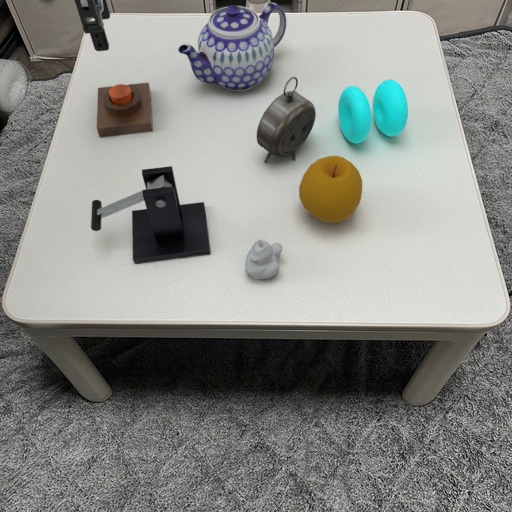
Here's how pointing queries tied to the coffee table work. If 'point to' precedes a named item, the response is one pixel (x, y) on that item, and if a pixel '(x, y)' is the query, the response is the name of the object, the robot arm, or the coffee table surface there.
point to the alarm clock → (286, 124)
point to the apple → (331, 189)
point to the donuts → (384, 110)
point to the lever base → (167, 223)
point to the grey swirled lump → (263, 259)
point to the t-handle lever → (122, 202)
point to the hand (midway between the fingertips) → (103, 33)
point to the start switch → (124, 112)
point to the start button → (120, 94)
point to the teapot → (235, 47)
